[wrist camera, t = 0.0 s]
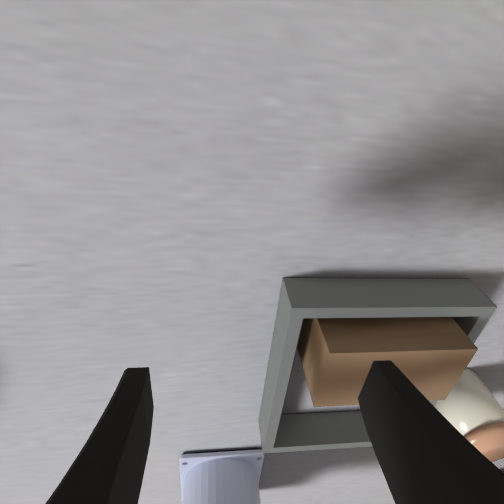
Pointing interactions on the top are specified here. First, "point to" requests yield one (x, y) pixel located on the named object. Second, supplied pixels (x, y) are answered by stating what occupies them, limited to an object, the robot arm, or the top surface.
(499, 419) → the jar
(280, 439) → the tote
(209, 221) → the top surface
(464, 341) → the block
